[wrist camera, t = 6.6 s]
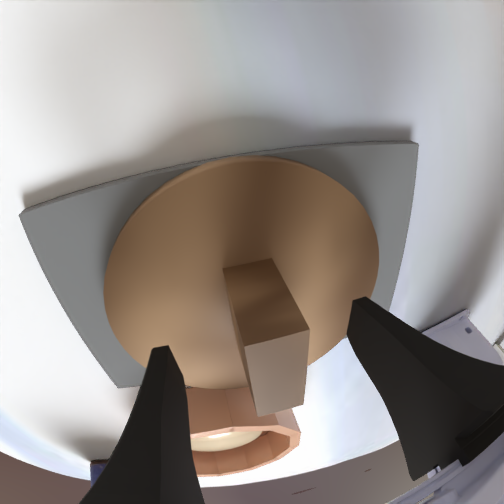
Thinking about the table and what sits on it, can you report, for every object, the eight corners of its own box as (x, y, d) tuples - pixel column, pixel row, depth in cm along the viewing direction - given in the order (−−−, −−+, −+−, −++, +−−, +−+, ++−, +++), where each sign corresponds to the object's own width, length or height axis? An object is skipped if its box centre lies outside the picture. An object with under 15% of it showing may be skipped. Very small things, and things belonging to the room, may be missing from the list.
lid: (379, 142, 11) (467, 181, 7) (351, 343, 18) (386, 400, 14) (64, 196, 9) (5, 271, 5) (158, 390, 16) (164, 461, 12)
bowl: (286, 366, 19) (303, 408, 16) (286, 429, 25) (297, 458, 22) (118, 397, 17) (117, 440, 14) (170, 451, 23) (174, 481, 20)
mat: (410, 140, 12) (418, 143, 11) (380, 318, 18) (384, 323, 18) (24, 209, 9) (18, 215, 9) (118, 380, 16) (118, 388, 15)
